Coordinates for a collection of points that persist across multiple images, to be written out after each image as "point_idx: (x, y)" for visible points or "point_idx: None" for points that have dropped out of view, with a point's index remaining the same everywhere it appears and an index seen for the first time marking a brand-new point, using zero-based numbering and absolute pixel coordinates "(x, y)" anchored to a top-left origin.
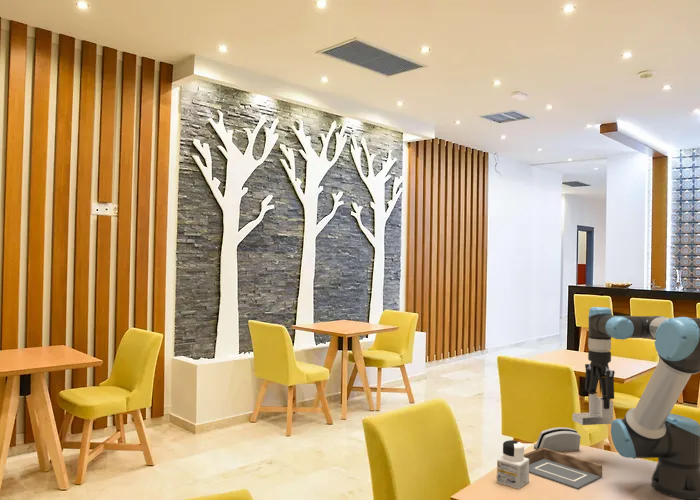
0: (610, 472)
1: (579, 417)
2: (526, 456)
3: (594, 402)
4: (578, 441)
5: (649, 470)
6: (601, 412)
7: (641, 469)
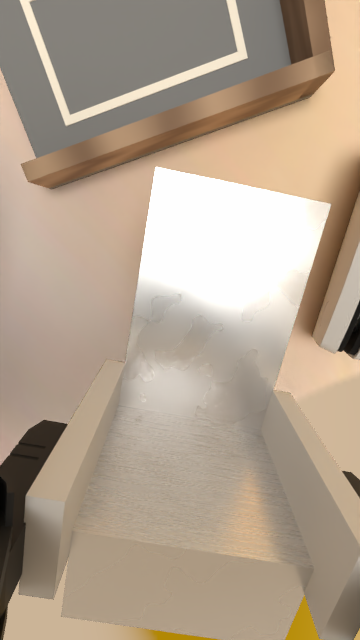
0: (87, 265)
1: (208, 178)
2: None
3: (290, 496)
4: (318, 335)
5: (66, 406)
6: (102, 382)
7: (80, 390)
